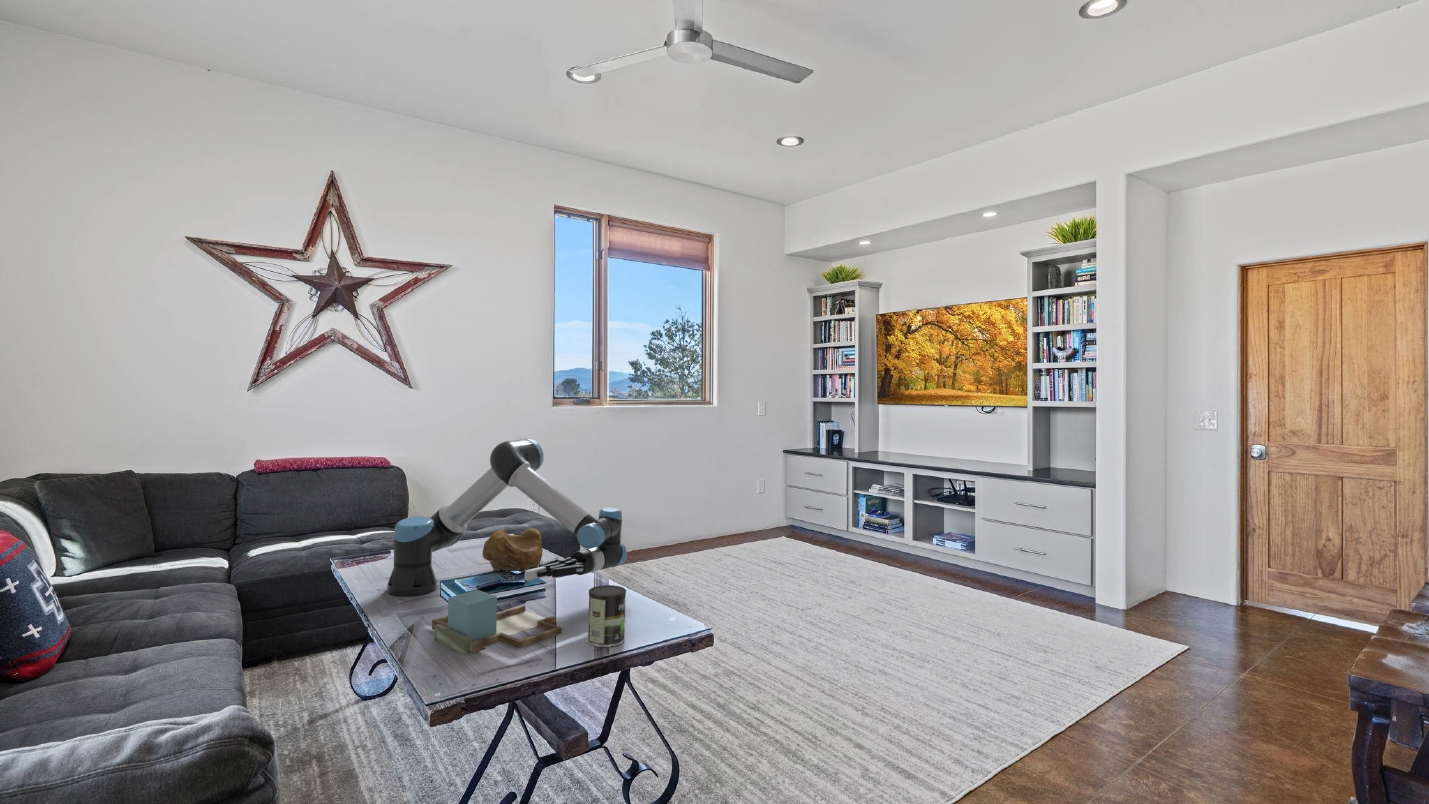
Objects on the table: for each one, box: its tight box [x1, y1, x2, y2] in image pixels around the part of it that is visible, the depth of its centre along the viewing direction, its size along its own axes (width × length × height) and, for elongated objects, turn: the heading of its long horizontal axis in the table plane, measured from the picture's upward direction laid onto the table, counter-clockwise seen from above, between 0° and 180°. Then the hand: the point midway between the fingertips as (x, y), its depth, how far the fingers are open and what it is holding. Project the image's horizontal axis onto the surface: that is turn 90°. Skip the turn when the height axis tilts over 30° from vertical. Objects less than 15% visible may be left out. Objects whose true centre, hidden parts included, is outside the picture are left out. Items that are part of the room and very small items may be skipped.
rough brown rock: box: [482, 527, 543, 572], centre depth 255 cm, size 23×17×15 cm
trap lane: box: [431, 604, 563, 656], centre depth 192 cm, size 29×31×4 cm
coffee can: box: [587, 584, 627, 648], centre depth 189 cm, size 10×10×14 cm
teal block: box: [447, 589, 498, 642], centre depth 186 cm, size 9×9×11 cm
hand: (526, 575), depth 199 cm, fingers closed
